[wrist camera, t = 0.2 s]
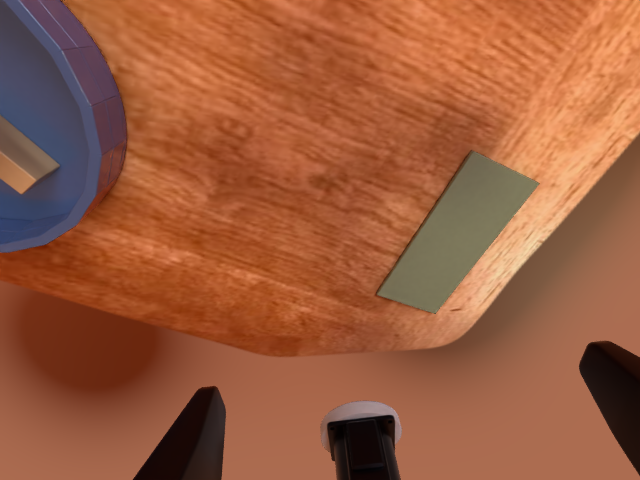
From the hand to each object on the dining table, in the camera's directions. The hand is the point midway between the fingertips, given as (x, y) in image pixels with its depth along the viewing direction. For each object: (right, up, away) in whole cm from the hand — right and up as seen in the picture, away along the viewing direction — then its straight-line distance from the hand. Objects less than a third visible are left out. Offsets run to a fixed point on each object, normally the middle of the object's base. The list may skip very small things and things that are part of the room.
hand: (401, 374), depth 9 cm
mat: (+8, +3, +18) cm, 20 cm away
